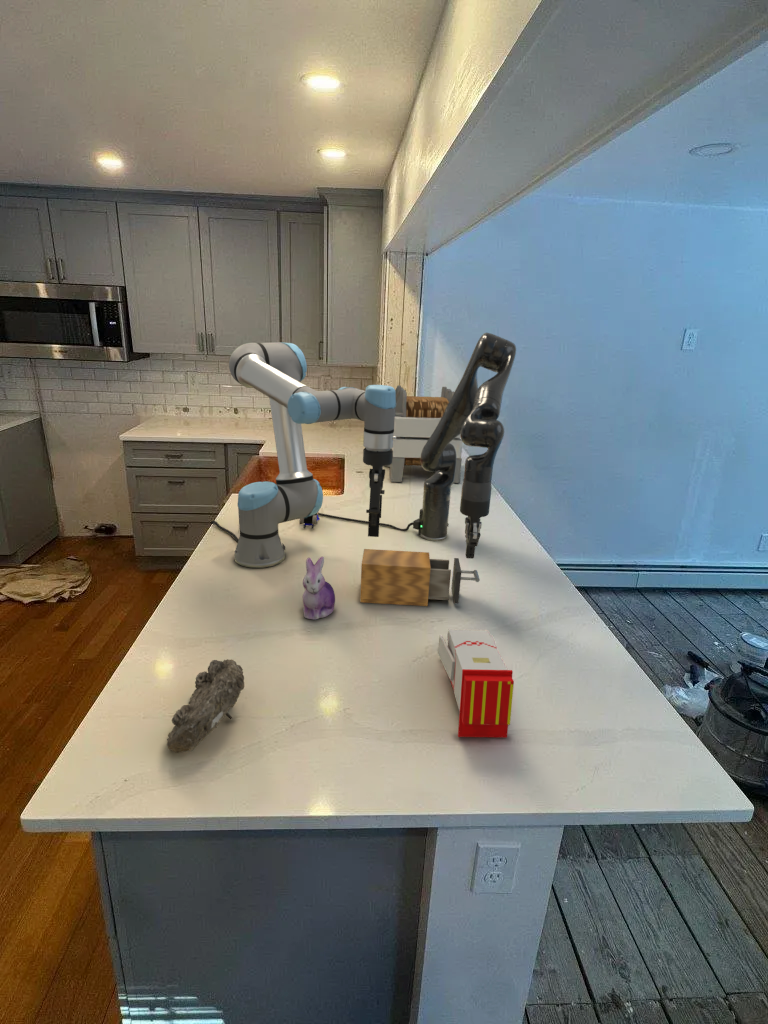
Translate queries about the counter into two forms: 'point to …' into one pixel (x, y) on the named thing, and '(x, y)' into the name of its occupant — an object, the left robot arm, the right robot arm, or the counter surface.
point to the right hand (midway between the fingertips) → (469, 557)
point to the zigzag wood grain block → (395, 577)
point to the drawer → (446, 579)
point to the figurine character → (309, 520)
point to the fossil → (206, 705)
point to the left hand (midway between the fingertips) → (374, 526)
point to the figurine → (317, 592)
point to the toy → (478, 682)
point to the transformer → (418, 430)
